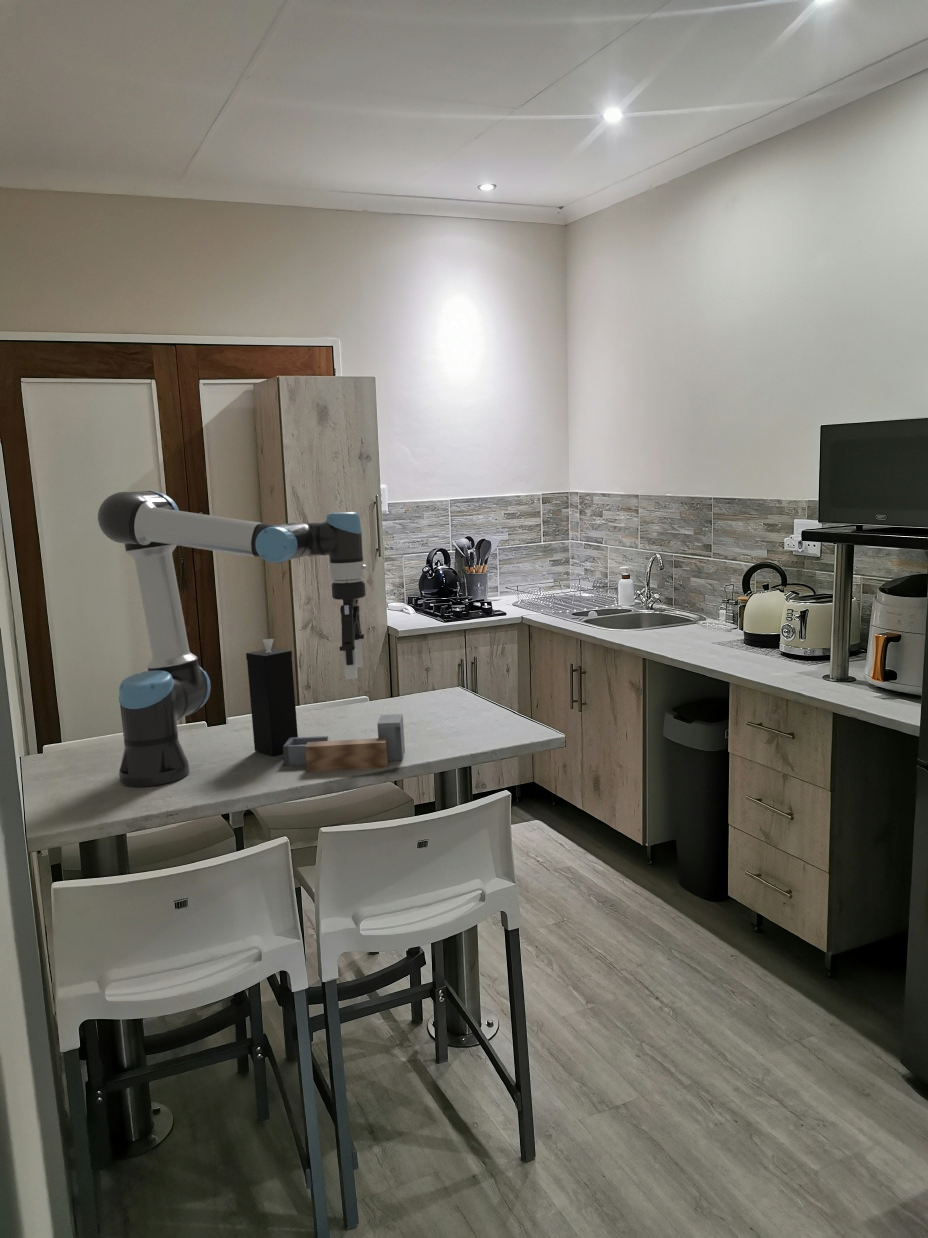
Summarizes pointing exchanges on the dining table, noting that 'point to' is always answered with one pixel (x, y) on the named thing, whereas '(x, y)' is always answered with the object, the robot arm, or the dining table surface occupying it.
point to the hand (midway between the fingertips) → (354, 673)
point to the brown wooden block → (346, 754)
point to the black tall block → (272, 698)
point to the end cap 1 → (298, 749)
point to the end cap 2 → (392, 735)
